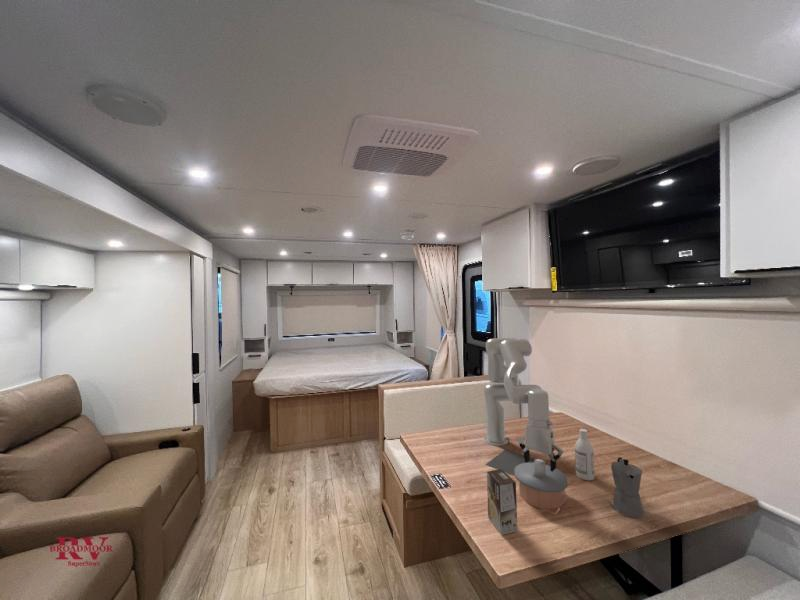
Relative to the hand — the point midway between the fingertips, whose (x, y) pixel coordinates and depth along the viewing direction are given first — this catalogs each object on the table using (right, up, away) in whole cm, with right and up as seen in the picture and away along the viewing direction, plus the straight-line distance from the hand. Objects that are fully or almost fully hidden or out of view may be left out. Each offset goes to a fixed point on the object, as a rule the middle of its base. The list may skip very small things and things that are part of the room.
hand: (539, 465), depth 120 cm
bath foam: (+25, -12, +13) cm, 31 cm away
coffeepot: (+28, -11, -8) cm, 31 cm away
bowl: (0, -12, 0) cm, 12 cm away
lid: (0, -5, 0) cm, 5 cm away
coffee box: (-20, -12, -16) cm, 28 cm away
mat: (0, -12, +24) cm, 27 cm away
